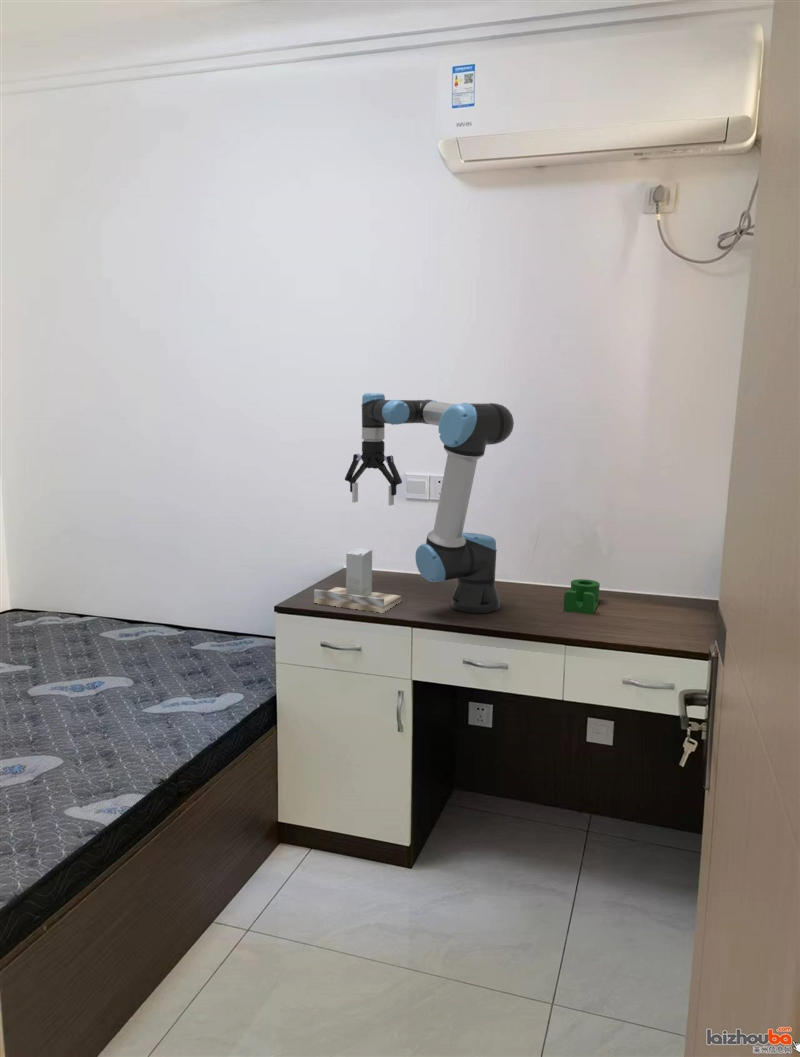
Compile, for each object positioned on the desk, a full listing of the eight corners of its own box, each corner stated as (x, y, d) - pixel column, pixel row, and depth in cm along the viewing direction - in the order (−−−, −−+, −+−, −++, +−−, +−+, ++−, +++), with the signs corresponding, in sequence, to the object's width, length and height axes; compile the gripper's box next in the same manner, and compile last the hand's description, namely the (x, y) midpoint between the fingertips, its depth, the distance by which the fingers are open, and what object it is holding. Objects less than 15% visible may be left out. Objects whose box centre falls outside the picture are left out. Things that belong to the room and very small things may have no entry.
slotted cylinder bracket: (572, 597, 252) (573, 578, 251) (600, 600, 249) (601, 581, 248) (563, 611, 236) (564, 591, 235) (593, 615, 233) (594, 594, 231)
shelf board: (401, 601, 244) (401, 588, 243) (382, 613, 231) (382, 599, 230) (335, 592, 253) (335, 580, 252) (313, 603, 240) (313, 590, 240)
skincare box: (355, 591, 247) (355, 547, 244) (372, 593, 245) (373, 548, 242) (345, 598, 239) (345, 552, 237) (362, 600, 237) (362, 554, 235)
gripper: (412, 441, 252) (411, 504, 256) (345, 438, 262) (345, 499, 266) (402, 442, 245) (402, 507, 249) (334, 439, 255) (335, 502, 259)
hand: (372, 503), depth 257 cm, fingers open, 13 cm apart
